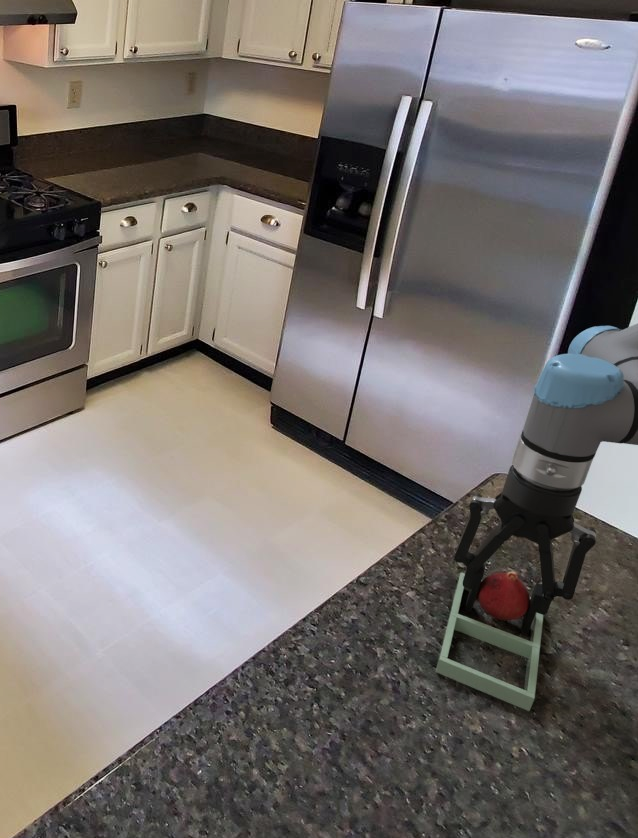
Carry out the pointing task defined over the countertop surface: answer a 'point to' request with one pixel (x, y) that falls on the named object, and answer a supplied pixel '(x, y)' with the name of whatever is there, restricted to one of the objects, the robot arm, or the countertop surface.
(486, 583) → the onion
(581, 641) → the countertop surface
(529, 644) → the holder
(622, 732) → the countertop surface
